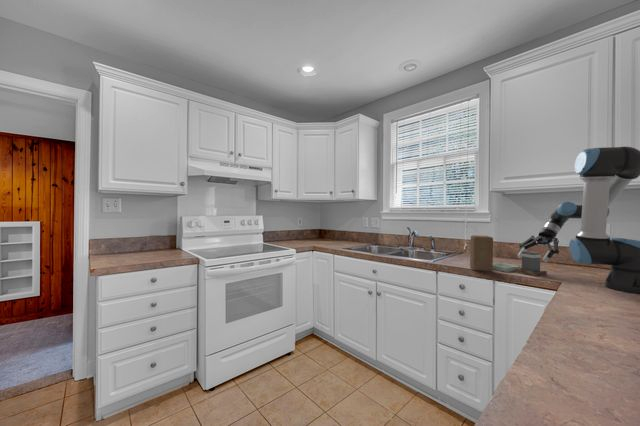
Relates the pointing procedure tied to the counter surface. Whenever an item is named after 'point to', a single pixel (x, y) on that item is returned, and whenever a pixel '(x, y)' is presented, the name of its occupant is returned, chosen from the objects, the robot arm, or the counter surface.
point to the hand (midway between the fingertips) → (531, 259)
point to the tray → (504, 267)
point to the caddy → (531, 261)
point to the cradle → (530, 272)
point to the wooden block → (481, 253)
